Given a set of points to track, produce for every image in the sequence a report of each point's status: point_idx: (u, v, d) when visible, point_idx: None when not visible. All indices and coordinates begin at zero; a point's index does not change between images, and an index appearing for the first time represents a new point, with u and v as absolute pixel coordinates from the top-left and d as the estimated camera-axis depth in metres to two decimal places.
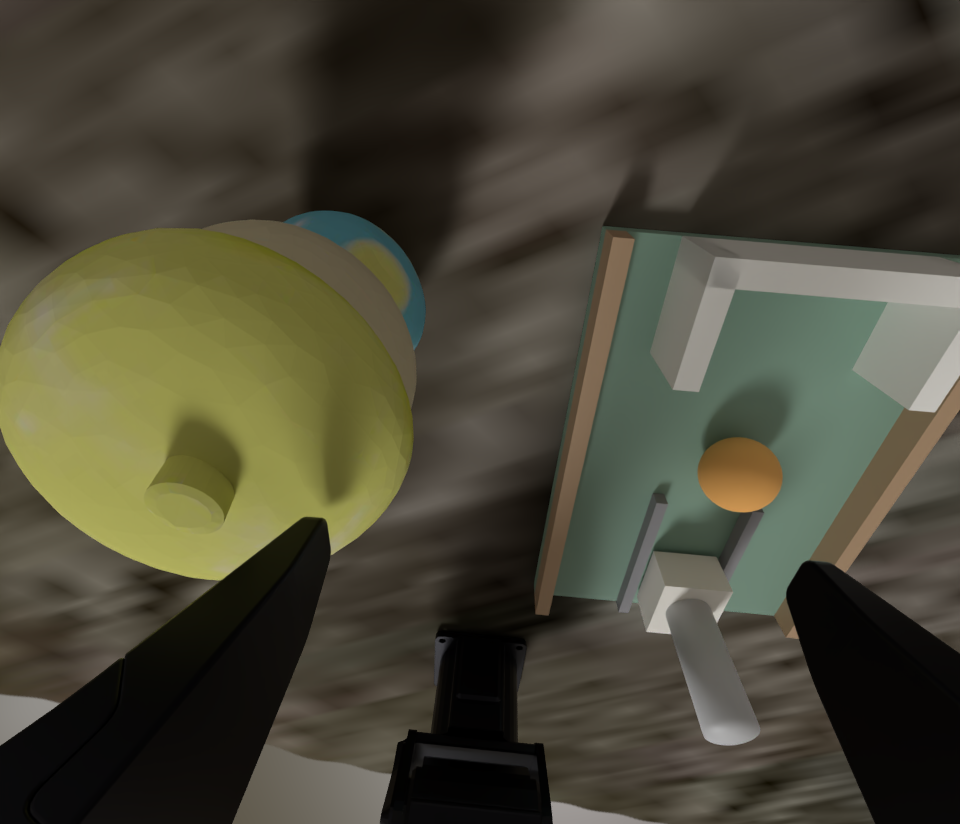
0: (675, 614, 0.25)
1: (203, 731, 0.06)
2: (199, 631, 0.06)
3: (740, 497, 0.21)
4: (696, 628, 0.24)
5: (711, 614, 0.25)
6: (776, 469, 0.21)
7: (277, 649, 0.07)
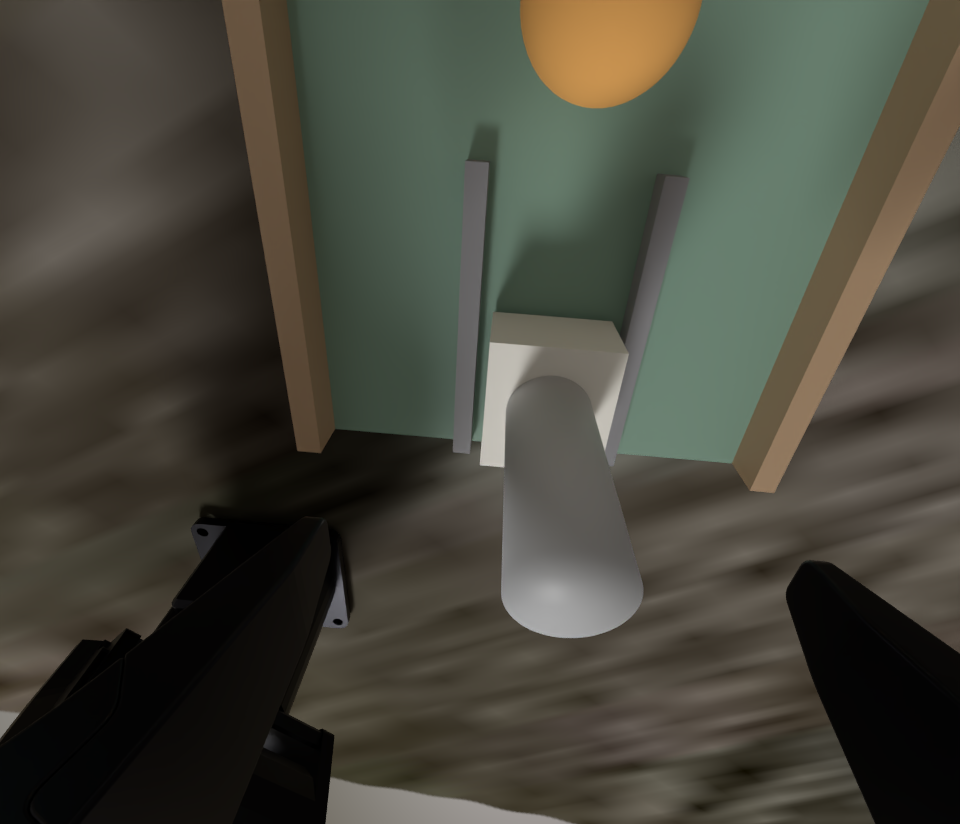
0: (513, 404, 0.12)
1: (203, 731, 0.06)
2: (199, 631, 0.06)
3: None
4: (540, 410, 0.11)
5: (584, 400, 0.12)
6: None
7: (277, 649, 0.07)
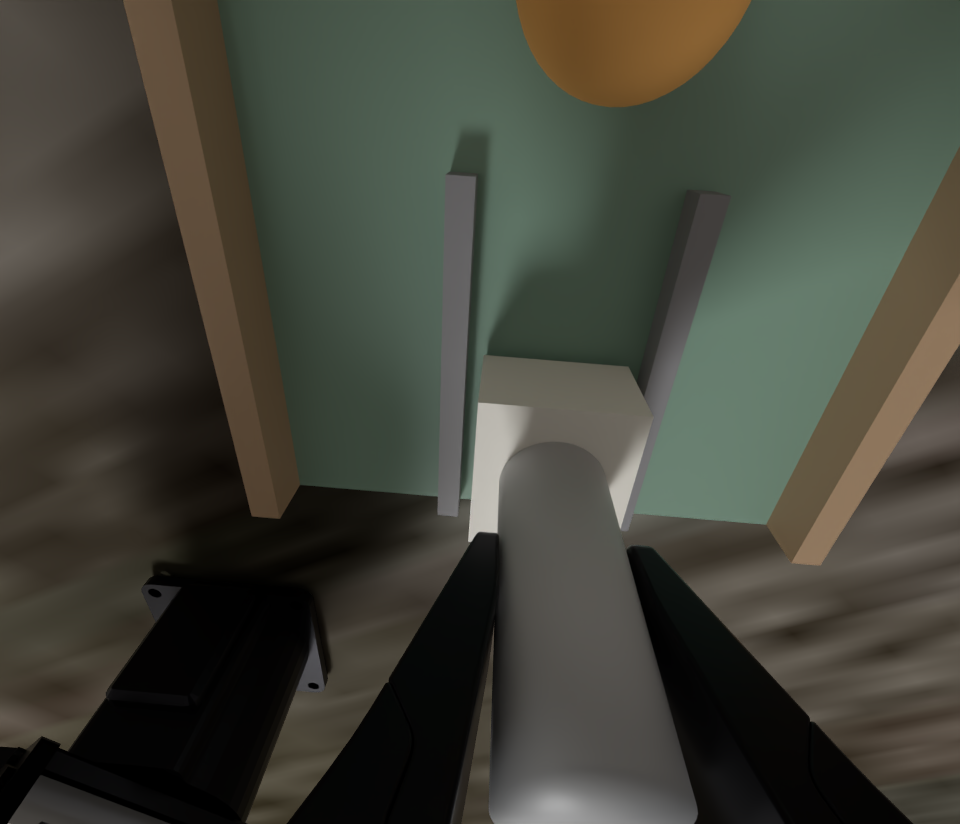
0: (508, 479, 0.10)
1: (467, 756, 0.06)
2: (447, 654, 0.06)
3: None
4: (542, 498, 0.09)
5: (598, 476, 0.10)
6: None
7: (486, 668, 0.07)
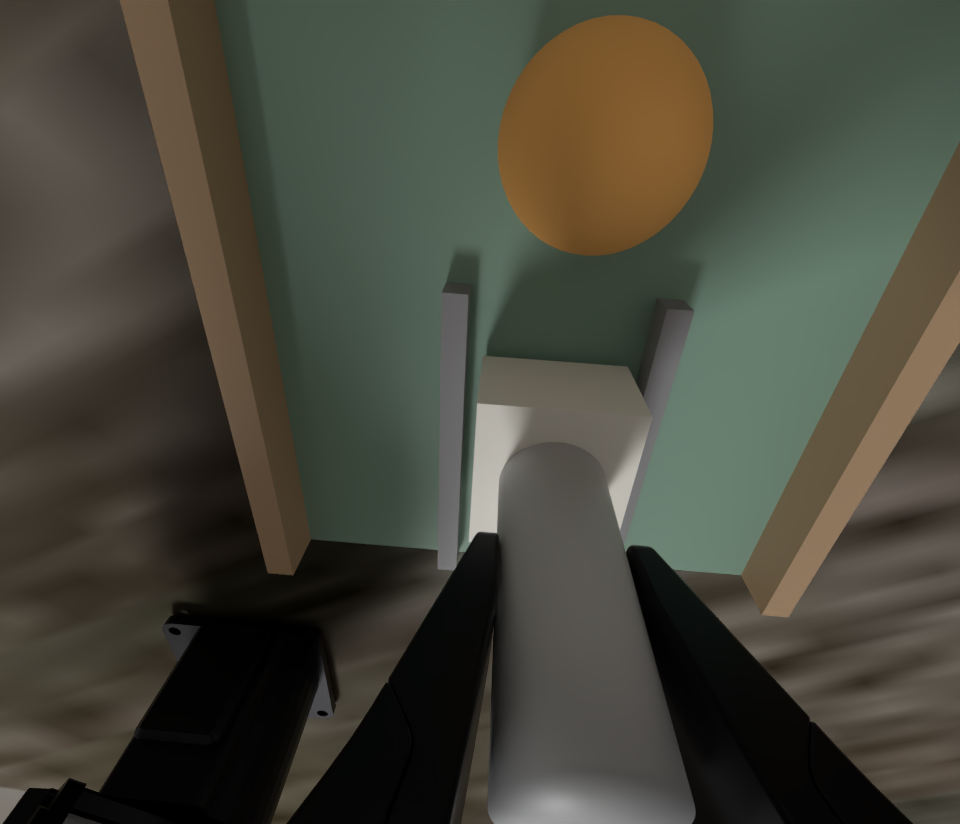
0: (508, 480, 0.10)
1: (467, 756, 0.06)
2: (447, 654, 0.06)
3: (577, 153, 0.07)
4: (541, 498, 0.09)
5: (597, 476, 0.10)
6: (686, 59, 0.07)
7: (485, 668, 0.07)
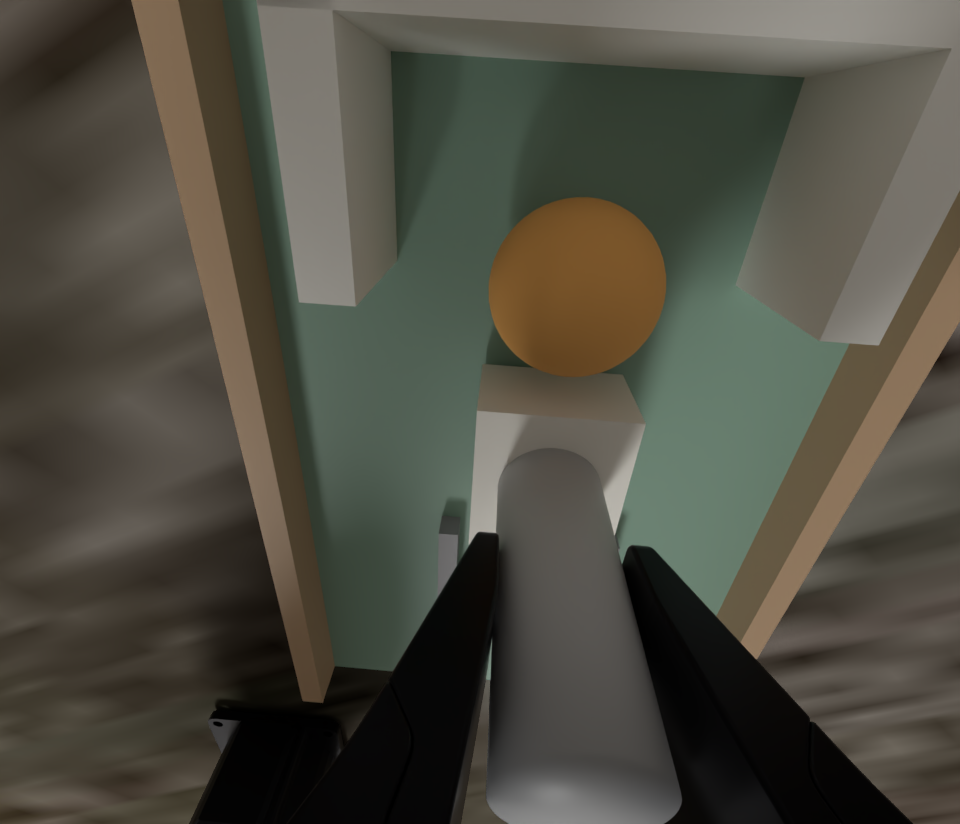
0: (506, 484, 0.10)
1: (467, 756, 0.06)
2: (447, 654, 0.06)
3: None
4: (538, 502, 0.09)
5: (593, 481, 0.10)
6: None
7: (485, 668, 0.07)
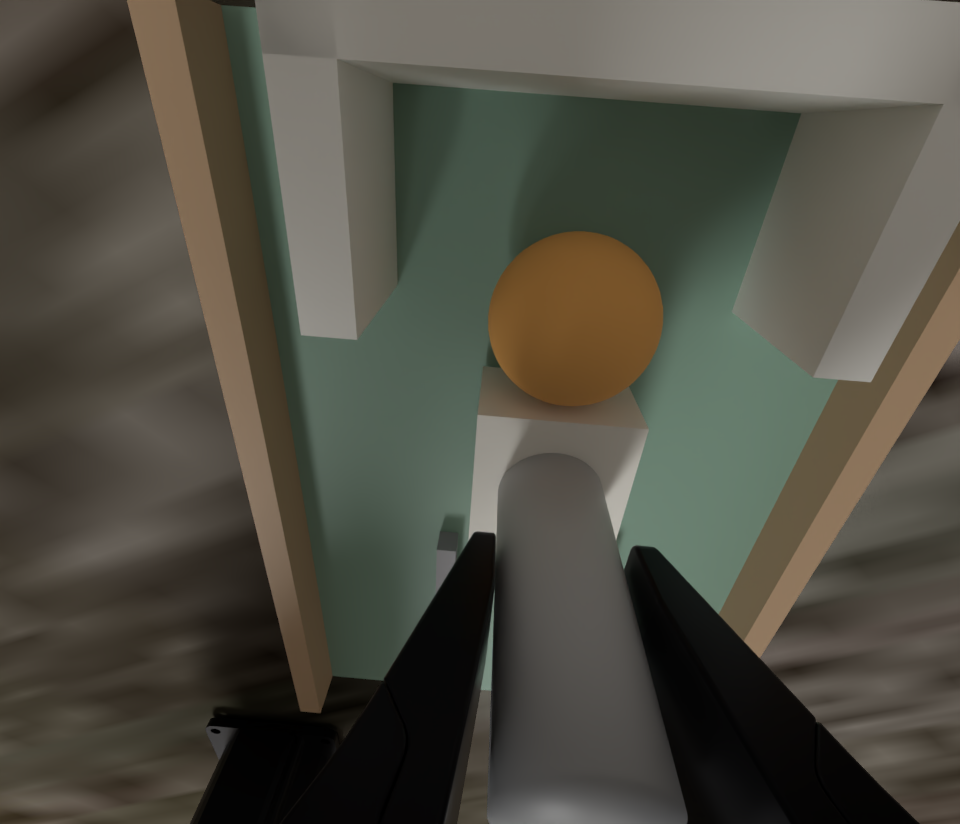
0: (507, 490, 0.10)
1: (462, 755, 0.06)
2: (443, 653, 0.06)
3: None
4: (540, 509, 0.09)
5: (595, 487, 0.10)
6: None
7: (482, 668, 0.07)
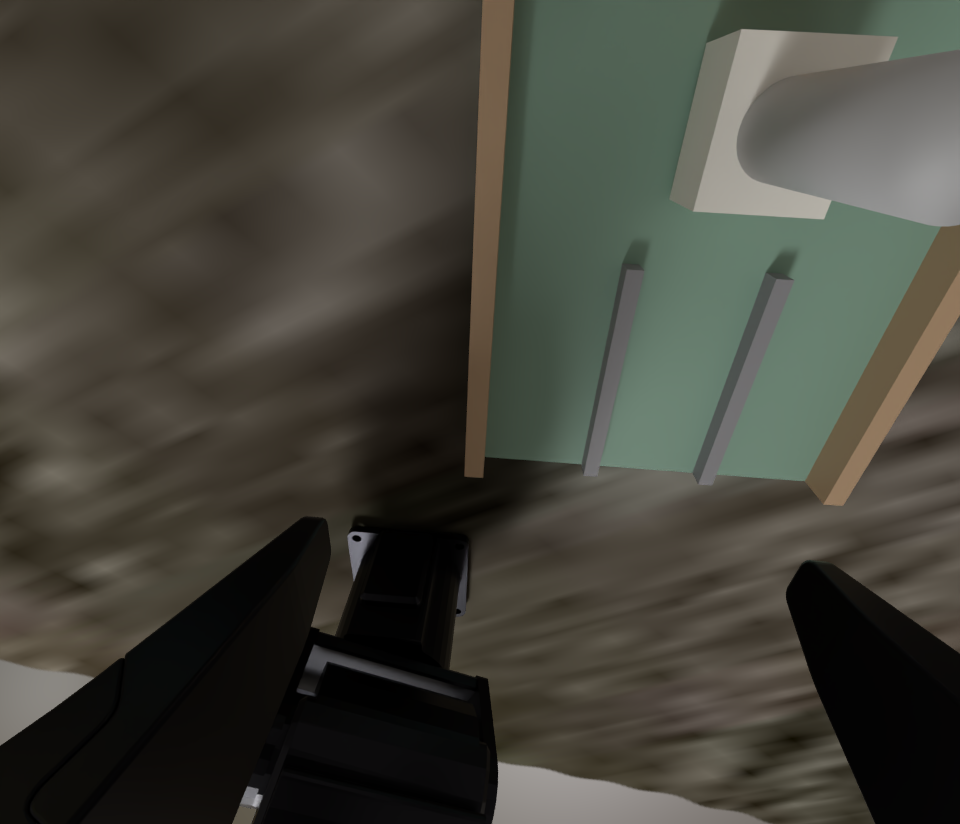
0: (764, 103, 0.11)
1: (203, 731, 0.06)
2: (199, 631, 0.06)
3: None
4: (825, 72, 0.10)
5: None
6: None
7: (277, 649, 0.07)
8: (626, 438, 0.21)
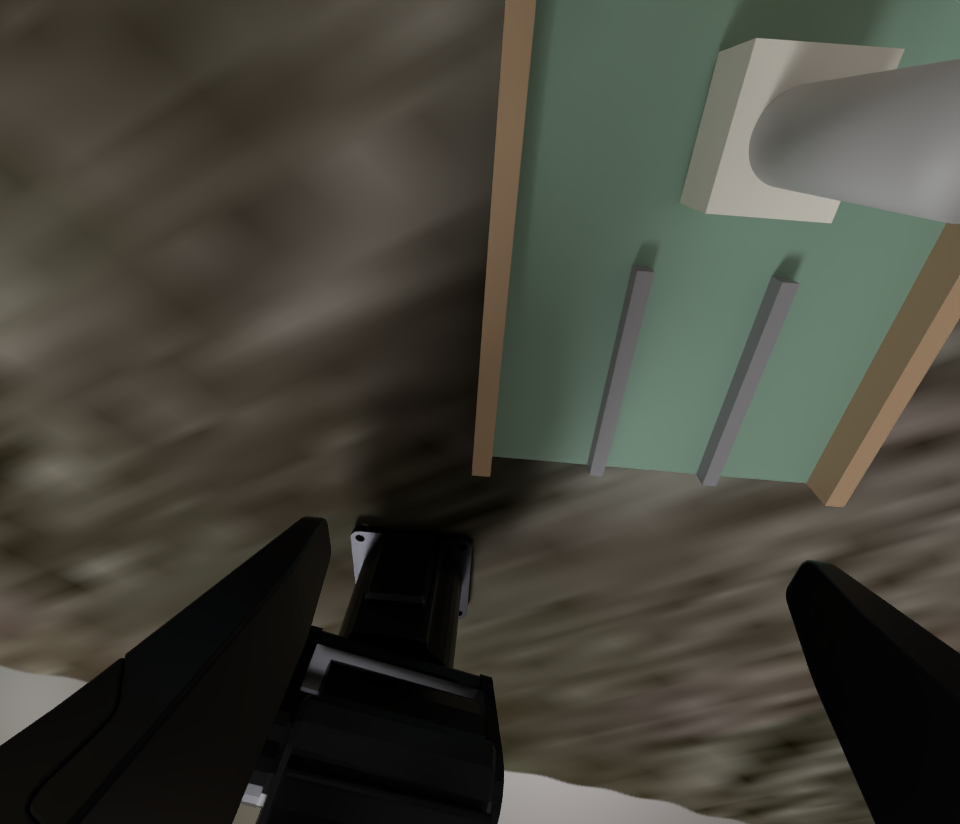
0: (777, 109, 0.12)
1: (203, 731, 0.06)
2: (199, 631, 0.06)
3: None
4: (837, 79, 0.10)
5: None
6: None
7: (277, 649, 0.07)
8: (632, 438, 0.21)
